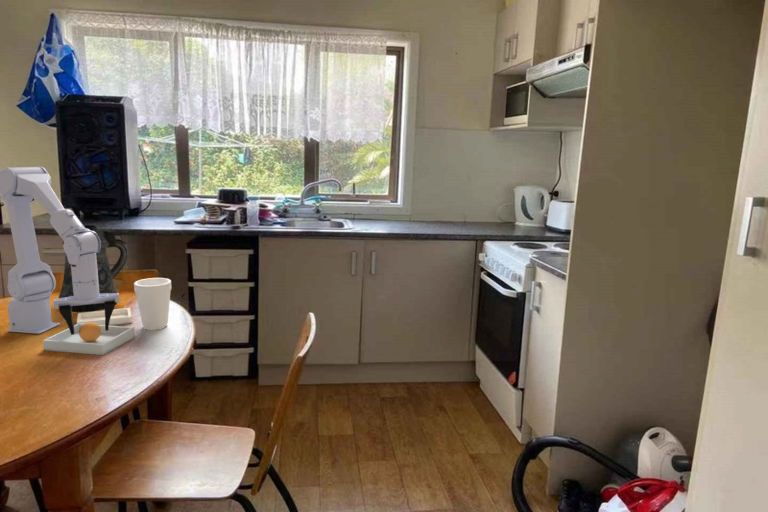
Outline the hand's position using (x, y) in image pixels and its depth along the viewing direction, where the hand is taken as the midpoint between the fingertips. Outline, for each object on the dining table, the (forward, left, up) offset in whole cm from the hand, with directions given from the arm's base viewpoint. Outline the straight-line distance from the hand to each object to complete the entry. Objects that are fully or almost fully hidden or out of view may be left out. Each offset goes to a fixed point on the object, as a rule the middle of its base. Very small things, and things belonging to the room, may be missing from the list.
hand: (90, 331), depth 137 cm
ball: (0, 0, 0) cm, 0 cm away
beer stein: (-21, +31, -3) cm, 38 cm away
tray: (0, 0, -3) cm, 3 cm away
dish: (-7, +16, -3) cm, 18 cm away
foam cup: (+9, +15, -3) cm, 18 cm away
